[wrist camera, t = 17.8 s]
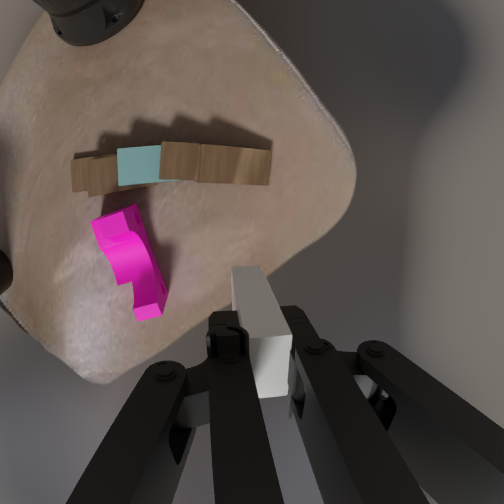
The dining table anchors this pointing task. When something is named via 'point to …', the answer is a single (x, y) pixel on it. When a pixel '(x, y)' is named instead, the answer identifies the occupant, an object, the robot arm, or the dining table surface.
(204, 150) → the domino
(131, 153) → the domino
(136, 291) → the toy block
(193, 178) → the domino
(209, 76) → the dining table surface
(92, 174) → the domino
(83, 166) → the domino
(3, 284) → the water bottle
